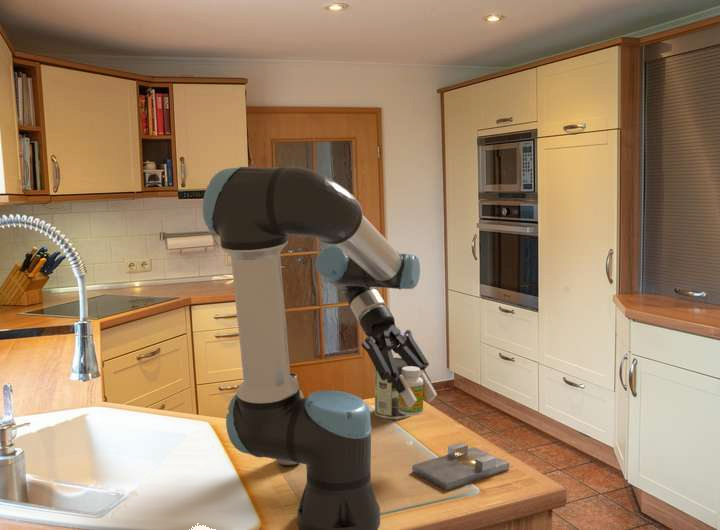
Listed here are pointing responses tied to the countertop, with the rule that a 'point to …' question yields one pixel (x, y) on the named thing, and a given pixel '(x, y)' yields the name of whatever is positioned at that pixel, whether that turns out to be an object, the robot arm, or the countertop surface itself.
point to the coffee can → (388, 395)
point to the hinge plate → (460, 466)
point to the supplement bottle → (416, 386)
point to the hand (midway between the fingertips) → (422, 400)
